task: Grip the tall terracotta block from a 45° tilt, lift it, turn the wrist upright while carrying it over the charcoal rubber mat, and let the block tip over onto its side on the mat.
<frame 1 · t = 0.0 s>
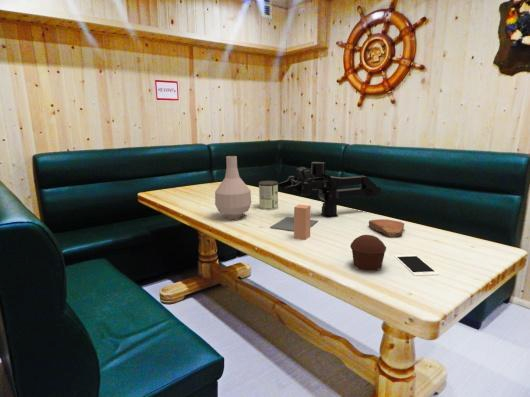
hand: (281, 186, 165), 17 cm above the table, tool horizontal, fingers open, 9 cm apart
coffee can: (268, 208, 194), on the table
cell phone: (415, 266, 117), on the table
charcoal mat: (294, 224, 162), on the table
muffin: (367, 266, 117), on the table
terracotta block: (302, 237, 146), on the table
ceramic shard: (385, 233, 151), on the table
vase: (233, 217, 177), on the table
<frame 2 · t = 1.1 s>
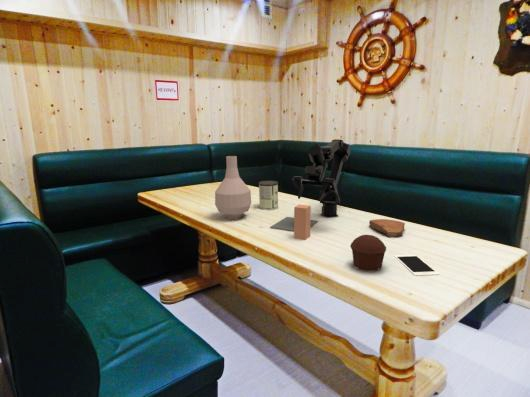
hand: (308, 199, 150), 14 cm above the table, tool tilted 45°, fingers open, 9 cm apart
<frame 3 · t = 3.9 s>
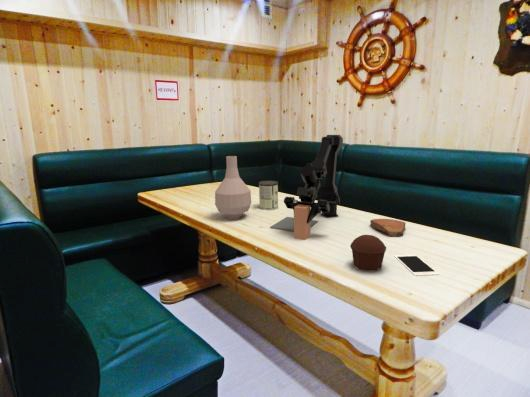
hand: (301, 222, 143), 7 cm above the table, tool tilted 45°, fingers closed on terracotta block, 5 cm apart
terracotta block: (302, 237, 146), on the table, touching gripper
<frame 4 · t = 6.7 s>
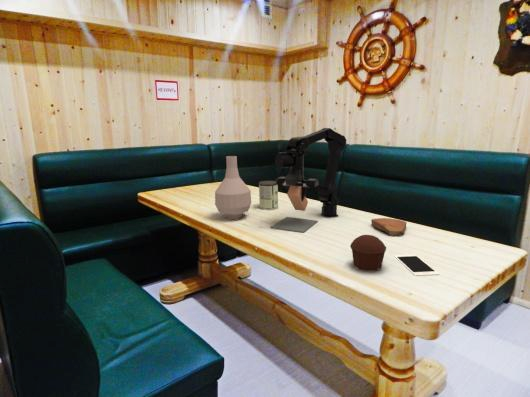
hand: (296, 200, 162), 11 cm above the table, tool pointing down, fingers closed on terracotta block, 5 cm apart
terracotta block: (301, 205, 168), point 7 cm above the table, tilted 45°, touching gripper
when the fingers open (7 cm above the table, at t = 8.1 s): terracotta block moves 2 cm and tips over, resting on charcoal mat.
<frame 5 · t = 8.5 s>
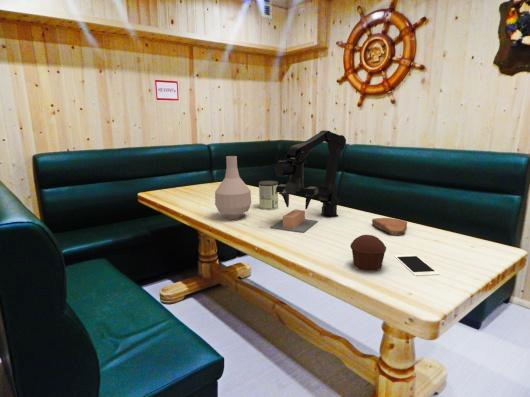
hand: (296, 208, 163), 7 cm above the table, tool pointing down, fingers open, 9 cm apart
terracotta block: (300, 215, 167), point 3 cm above the table, tilted 90°, touching charcoal mat
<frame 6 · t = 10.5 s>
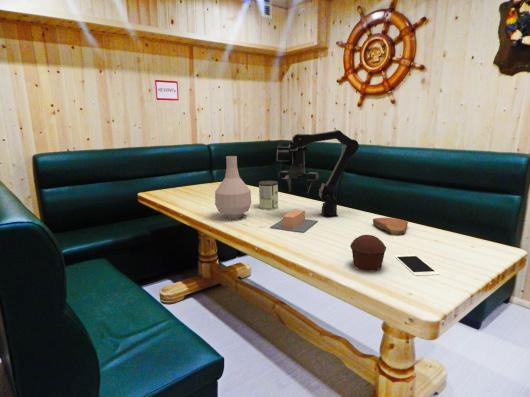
hand: (298, 192, 173), 12 cm above the table, tool pointing down, fingers open, 9 cm apart
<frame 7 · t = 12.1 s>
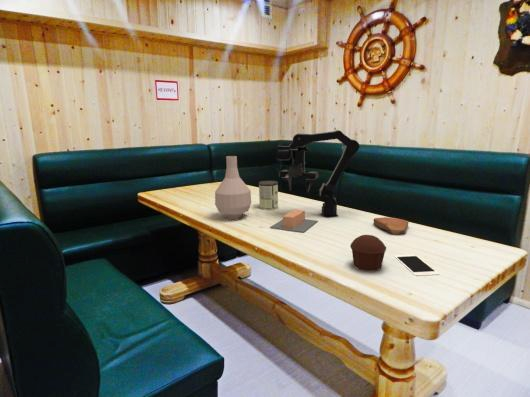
hand: (298, 191, 175), 12 cm above the table, tool pointing down, fingers open, 9 cm apart
at the end: terracotta block tilted 90°; terracotta block touching charcoal mat; the gripper is holding nothing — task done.
